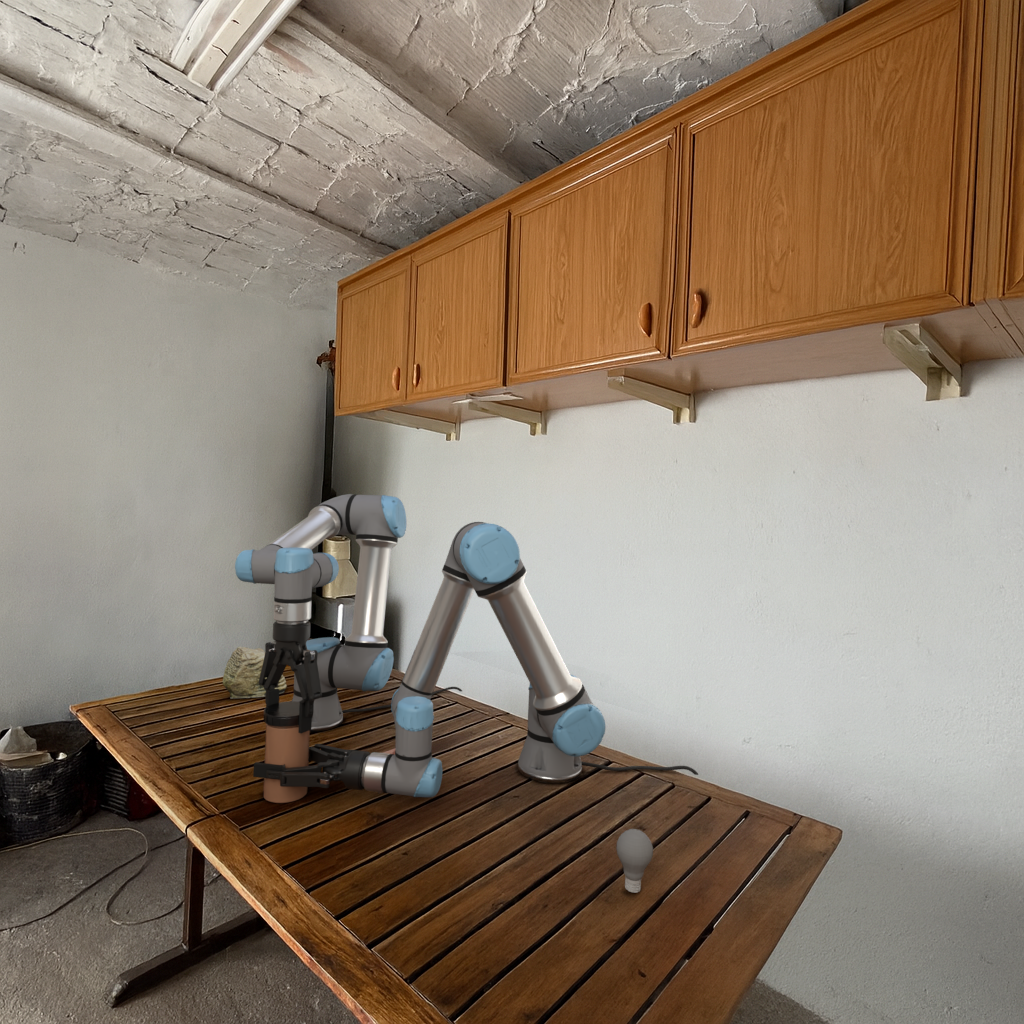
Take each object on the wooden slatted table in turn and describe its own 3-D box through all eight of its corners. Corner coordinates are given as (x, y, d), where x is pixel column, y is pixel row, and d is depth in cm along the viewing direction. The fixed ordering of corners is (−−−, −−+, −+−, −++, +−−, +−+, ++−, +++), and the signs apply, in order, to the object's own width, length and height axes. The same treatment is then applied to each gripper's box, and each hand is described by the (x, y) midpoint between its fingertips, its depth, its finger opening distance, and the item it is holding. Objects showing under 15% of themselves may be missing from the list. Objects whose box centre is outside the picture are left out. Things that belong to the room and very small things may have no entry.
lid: (303, 728, 129) (303, 717, 129) (255, 725, 130) (255, 715, 130) (319, 712, 139) (319, 702, 139) (274, 709, 140) (275, 700, 139)
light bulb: (610, 879, 108) (613, 822, 108) (644, 879, 109) (647, 822, 109) (619, 902, 102) (622, 840, 102) (655, 901, 103) (658, 840, 103)
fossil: (218, 695, 195) (220, 647, 195) (278, 685, 208) (279, 640, 207) (228, 703, 189) (230, 653, 188) (289, 692, 201) (290, 645, 201)
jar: (304, 781, 141) (307, 704, 140) (310, 798, 133) (313, 717, 132) (261, 787, 137) (264, 708, 137) (265, 806, 129) (268, 721, 129)
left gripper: (243, 616, 137) (239, 718, 137) (314, 631, 125) (310, 743, 125) (272, 611, 143) (268, 709, 144) (343, 625, 131) (338, 732, 132)
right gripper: (346, 814, 121) (237, 801, 125) (384, 767, 143) (290, 757, 146) (347, 775, 121) (238, 763, 124) (385, 734, 143) (292, 725, 146)
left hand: (288, 725), depth 134 cm, fingers closed on lid, 10 cm apart
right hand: (266, 760), depth 135 cm, fingers closed on jar, 9 cm apart
